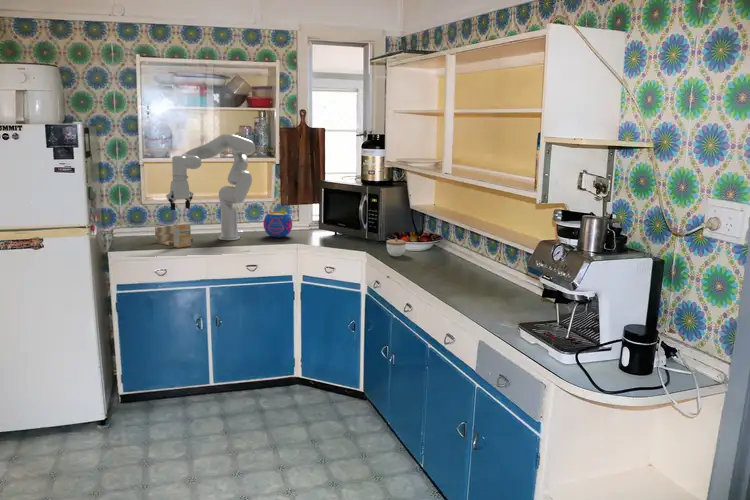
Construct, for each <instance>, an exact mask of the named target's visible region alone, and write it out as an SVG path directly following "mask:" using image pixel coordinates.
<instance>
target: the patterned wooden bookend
mask: <svg viewBox="0 0 750 500" xmlns="http://www.w3.org/2000/svg"><path fill="white" fill-rule="evenodd" d="M154 237H155V238H154V239H155V244H160V245H165V246H169V247H172V246H174V224H168V225H162V226H155V227H154ZM193 242H194V239H193V238H192V237H191V243H193Z"/></svg>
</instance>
